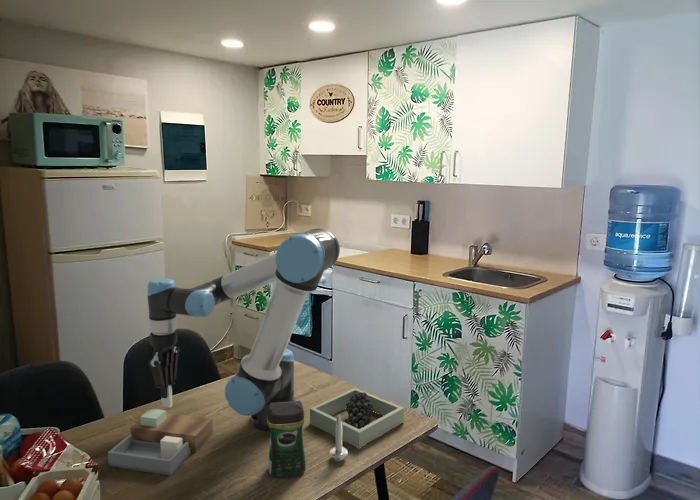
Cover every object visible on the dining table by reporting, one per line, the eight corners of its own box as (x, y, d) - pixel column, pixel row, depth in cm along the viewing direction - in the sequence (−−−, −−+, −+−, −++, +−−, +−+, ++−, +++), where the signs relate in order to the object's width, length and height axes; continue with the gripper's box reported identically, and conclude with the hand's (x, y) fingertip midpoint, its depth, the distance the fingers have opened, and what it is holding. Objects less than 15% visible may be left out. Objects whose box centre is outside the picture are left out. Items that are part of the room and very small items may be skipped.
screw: (345, 453, 142) (349, 462, 137) (328, 454, 141) (331, 464, 136) (346, 409, 140) (349, 417, 135) (328, 410, 139) (331, 419, 134)
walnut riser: (212, 434, 151) (212, 418, 150) (195, 452, 141) (195, 436, 140) (151, 426, 155) (150, 411, 154) (131, 443, 145) (130, 427, 145)
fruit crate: (403, 422, 159) (403, 407, 158) (359, 449, 144) (359, 432, 143) (354, 401, 172) (355, 387, 171) (310, 423, 158) (309, 408, 157)
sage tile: (166, 418, 150) (166, 410, 149) (156, 426, 145) (156, 418, 145) (151, 416, 151) (150, 408, 150) (140, 424, 146) (140, 416, 146)
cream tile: (182, 438, 138) (177, 442, 135) (183, 455, 139) (178, 460, 136) (165, 435, 139) (160, 440, 136) (166, 452, 140) (161, 457, 137)
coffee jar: (304, 459, 138) (303, 395, 135) (306, 477, 131) (306, 409, 128) (268, 462, 137) (266, 397, 134) (268, 480, 129) (266, 412, 126)
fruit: (361, 408, 148) (369, 385, 163) (334, 414, 150) (345, 391, 165) (370, 435, 149) (378, 410, 164) (344, 440, 151) (354, 415, 166)
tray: (190, 454, 140) (190, 440, 140) (170, 475, 131) (170, 461, 130) (132, 446, 144) (131, 433, 144) (108, 466, 135) (107, 452, 134)
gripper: (164, 323, 158) (168, 395, 162) (138, 337, 145) (143, 414, 149) (186, 325, 156) (189, 398, 160) (162, 339, 144) (166, 417, 148)
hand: (167, 406), depth 155 cm, fingers closed
